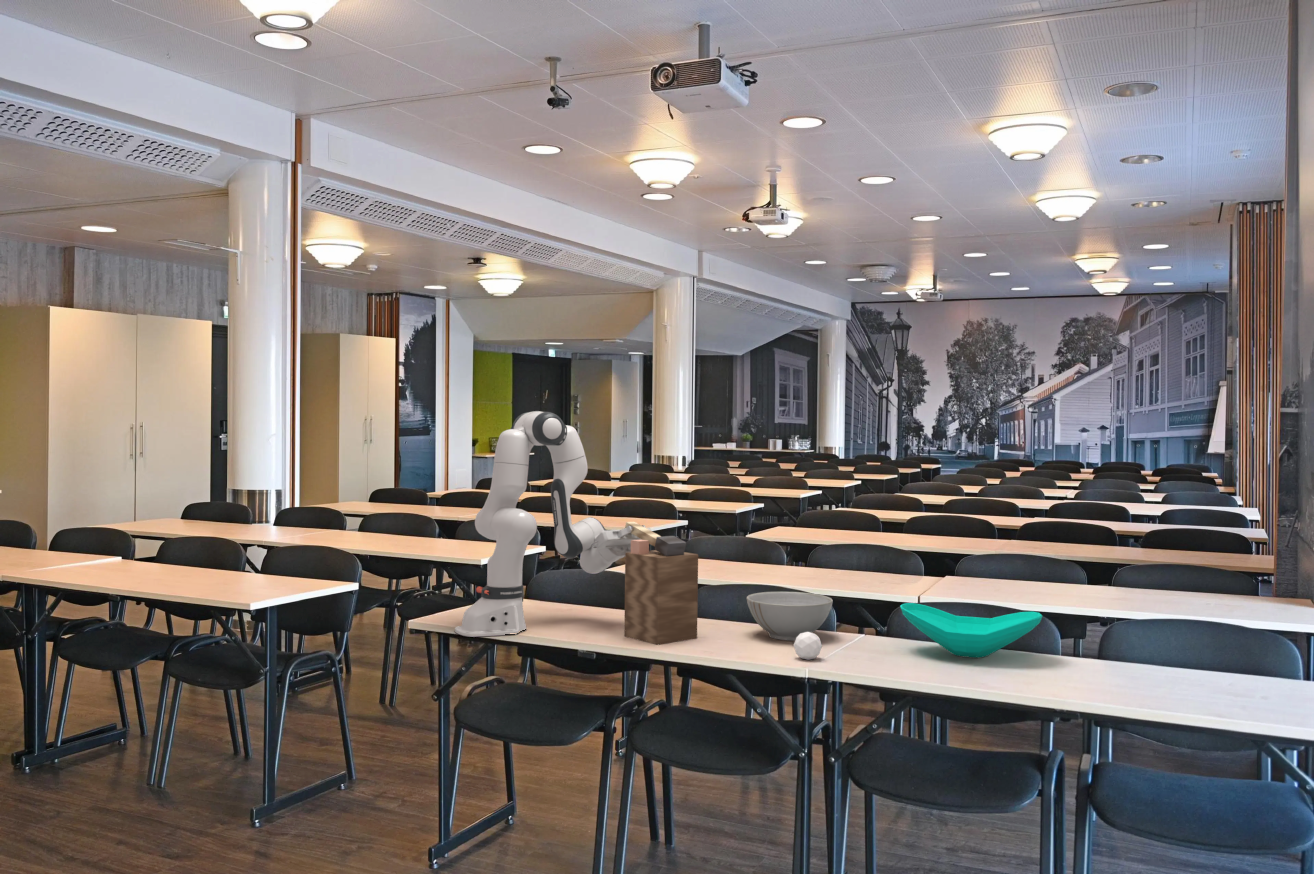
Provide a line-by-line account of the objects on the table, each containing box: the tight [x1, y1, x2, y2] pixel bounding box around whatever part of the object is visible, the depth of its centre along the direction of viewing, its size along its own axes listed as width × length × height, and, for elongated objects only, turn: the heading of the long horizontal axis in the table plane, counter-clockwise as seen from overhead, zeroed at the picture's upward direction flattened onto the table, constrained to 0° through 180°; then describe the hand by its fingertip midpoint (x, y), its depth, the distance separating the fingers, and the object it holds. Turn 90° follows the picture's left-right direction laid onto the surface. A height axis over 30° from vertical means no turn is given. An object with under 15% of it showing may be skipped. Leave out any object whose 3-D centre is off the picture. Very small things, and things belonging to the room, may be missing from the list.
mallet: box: [624, 521, 687, 556], centre depth 328 cm, size 24×7×4 cm, turn 40°
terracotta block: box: [631, 540, 650, 554], centre depth 324 cm, size 4×4×4 cm
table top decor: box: [899, 602, 1043, 659], centre depth 304 cm, size 40×28×13 cm
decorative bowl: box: [746, 591, 834, 641], centre depth 329 cm, size 27×27×12 cm
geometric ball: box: [793, 632, 823, 661], centre depth 297 cm, size 8×8×8 cm
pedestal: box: [623, 549, 699, 646], centre depth 325 cm, size 16×16×26 cm
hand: (637, 527), depth 334 cm, fingers closed on mallet, 3 cm apart
